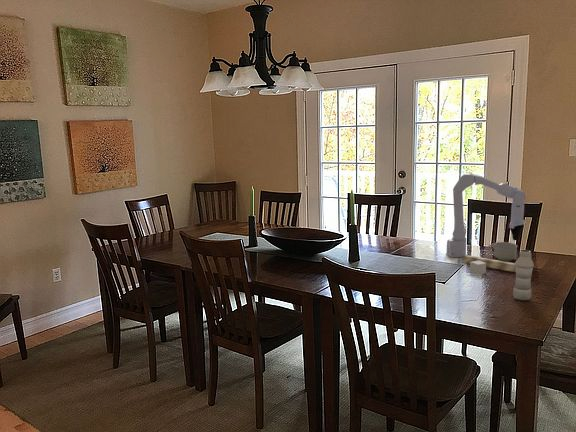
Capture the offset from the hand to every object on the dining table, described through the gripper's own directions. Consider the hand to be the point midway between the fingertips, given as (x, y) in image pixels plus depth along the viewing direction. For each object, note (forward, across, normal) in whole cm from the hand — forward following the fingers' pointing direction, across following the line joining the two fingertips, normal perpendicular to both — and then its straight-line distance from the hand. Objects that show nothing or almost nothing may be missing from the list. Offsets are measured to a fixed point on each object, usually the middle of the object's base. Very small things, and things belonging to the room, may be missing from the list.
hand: (515, 240), depth 243 cm
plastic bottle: (+11, -56, -23) cm, 61 cm away
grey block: (+10, -33, +5) cm, 35 cm away
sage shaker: (+10, -10, -9) cm, 17 cm away
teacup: (+11, -3, +5) cm, 12 cm away
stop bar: (+10, -20, +5) cm, 23 cm away
